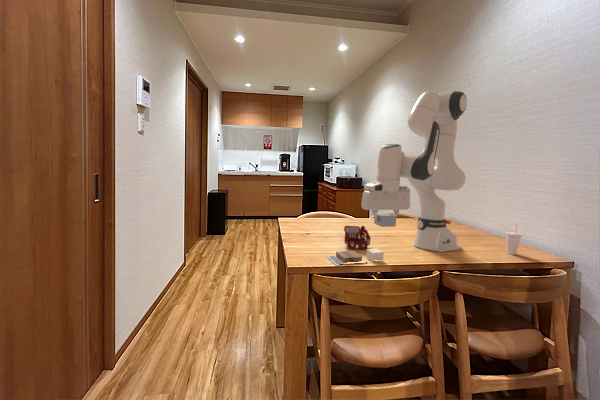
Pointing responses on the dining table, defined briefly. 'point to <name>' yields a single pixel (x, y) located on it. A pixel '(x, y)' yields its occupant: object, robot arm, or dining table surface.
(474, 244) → the dining table surface
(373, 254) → the cream brick
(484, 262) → the dining table surface
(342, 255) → the plinth
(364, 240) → the toy fire truck
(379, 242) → the dining table surface
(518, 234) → the smoothie
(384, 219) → the slate brick
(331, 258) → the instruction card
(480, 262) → the dining table surface
